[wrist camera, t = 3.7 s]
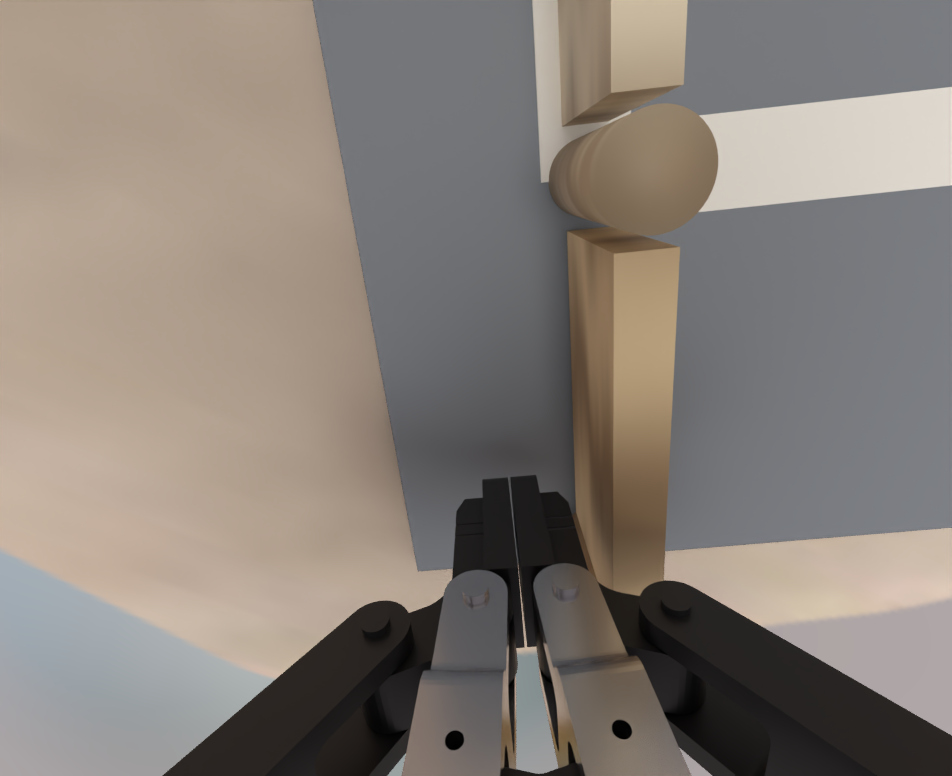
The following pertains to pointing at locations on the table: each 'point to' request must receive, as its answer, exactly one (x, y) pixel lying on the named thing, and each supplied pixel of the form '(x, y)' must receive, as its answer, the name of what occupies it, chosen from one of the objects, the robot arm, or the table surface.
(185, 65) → the table surface
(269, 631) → the table surface
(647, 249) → the fence gate
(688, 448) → the card
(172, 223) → the table surface
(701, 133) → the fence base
